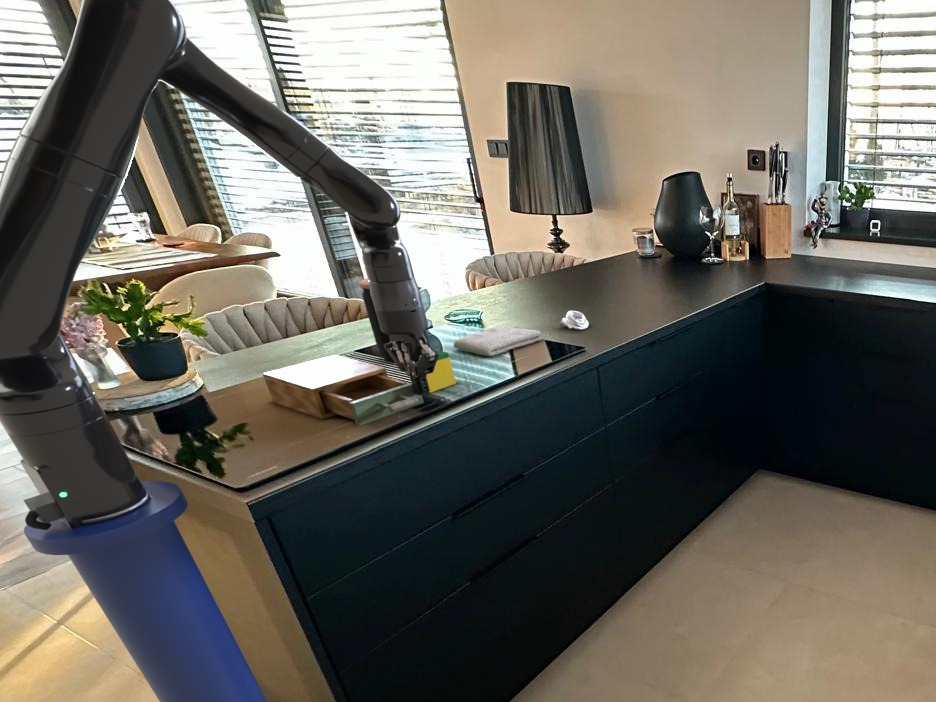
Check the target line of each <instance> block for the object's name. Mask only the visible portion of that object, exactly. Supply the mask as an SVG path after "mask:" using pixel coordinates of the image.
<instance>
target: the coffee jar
mask: <svg viewBox="0 0 936 702" xmlns="http://www.w3.org/2000/svg"><path fill="white" fill-rule="evenodd" d="M358 285H359V287H360V288H361V289H362V292H361V296H362V301H363V303H364V308H365V310H366V314H367V318H368V321H369V324H370V328H371V330H372V334H373V338H374V340H375V341H374V342H375V344H376V347H377V352H378V354H379V356H380V358H382V359H383V360H384V361H386V362H389V363H395V362H394V361H393V359H392V358H391V356H390V355H389V353H388V352H387V351H386V349H385V348H384V344H386V343H390V341H391V340H390V338H389V334H385V333H383V332H382V331H381V329H380V325H379V322H378V318H377V315H376V311H375V308H374V304H373V301H372V297H371V293H370V286H369V280H368V277H367V278H364V279H361V280H359V281H358ZM423 334H424V336H425V338H426V340H427V343H428V344H427V346H428V347H429V348H430V349H431V343H430V340H429V337H428V333H427V328H426V329H425V330H424V332H423Z"/></svg>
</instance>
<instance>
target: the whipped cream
mask: <svg viewBox="0 0 936 702" xmlns="http://www.w3.org/2000/svg"><path fill="white" fill-rule="evenodd" d="M559 326H560V327H561V328H564V327H567V328H568V329H570V330H571V329H572V328H573V329H574V330H575V329H576V330H585V329H588V327H589V321H588V320H587V317H586V316H585V315H584V313H582V312H581V311H577V310H568V311H567V312H566V315H565V317H563V318H562V319H561V321H560V323H559Z"/></svg>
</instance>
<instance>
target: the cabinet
mask: <svg viewBox="0 0 936 702" xmlns="http://www.w3.org/2000/svg"><path fill="white" fill-rule="evenodd" d="M376 374H379V375H383V376H386V377H389V375H388V373H387V369H386V367H384V366H381V365H376V364H373V363H369V362H365V361H362V360H357V359H354V358H350V357H346V356H344V355H339V354H332V355H329V356H325V357H321V358H316V359H313V360H309V361H305V362H301V363H298V364H297V363H296V364H294V365H290V366H289V365H288V366H286V367H282V368H278V369H274V370H269V371H267V372H263V373H262V376H263V379H264V382H265V384H266V387H267V389H268V392H269V395H270V397H271V400H272V402H273V403H274V404H276V405H280V406H283V407H285V408H289V409H292V410H295V411H297V412H299V413H303V414H306V415H309V416H312V417H315V418H317V419H321V420H326V419H329V418H331V417H335V416H337V415H339V414H336V413H333V412H330V411H327V410H325V409H324V406H323V404H322V401H321V398H320V395H319V391H322V390H326V389H329V388H332V387H336V386H339V385H342V384H346V383H349V382H352V381H356V380H359V379H363V378H366V377H369V376H373V375H376Z"/></svg>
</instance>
